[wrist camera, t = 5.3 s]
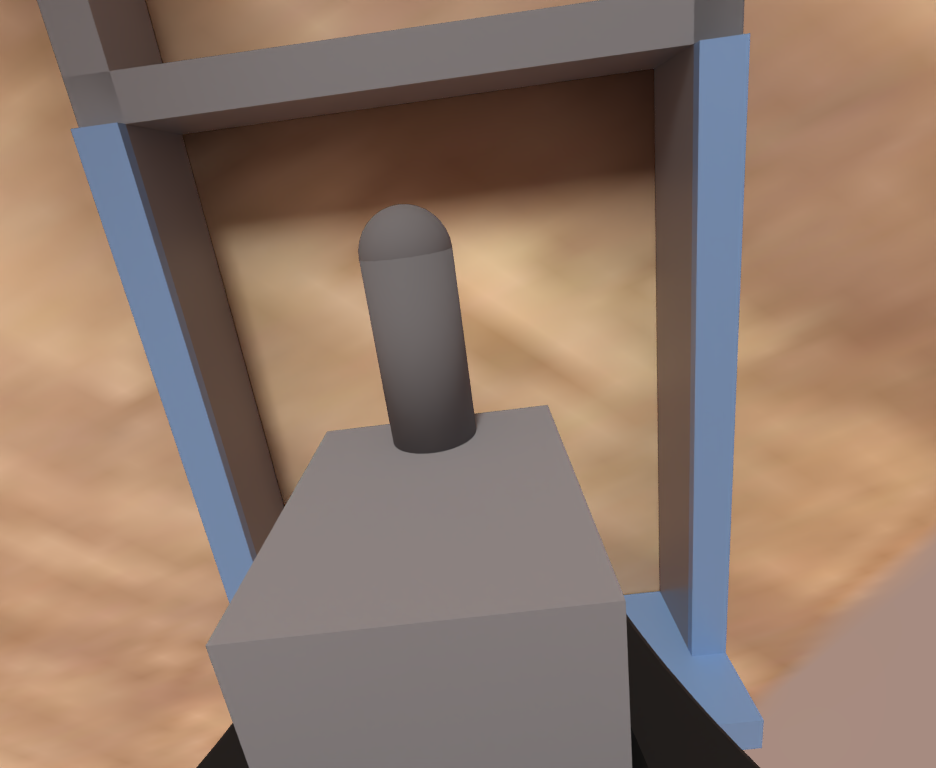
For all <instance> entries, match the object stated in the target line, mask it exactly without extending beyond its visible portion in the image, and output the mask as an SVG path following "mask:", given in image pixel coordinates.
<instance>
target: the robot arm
mask: <svg viewBox="0 0 936 768" xmlns="http://www.w3.org/2000/svg"><path fill="white" fill-rule="evenodd" d="M626 622H627V648H628V673H629V698H630V723H631V748H632V768H760V767H759V766H758V765H757V764H756V763H755V762H754V761H753V760H752V759H751V758H750V757H749V756H748V755H747V754H746V753H745V752H744V751H743V750H742V749H741V748H740V747H739V746H738V745H737V744H736V743H735V742H734V741H733V740H732V739H731V737H730V736H729V735H728V734H727V733H726V732H725V731H724V730H723V729H722V728H721V727H720V726H719V725H718V724H717V723H716V722H715V721H714V720H713V718H712V717H711V716H710V715H709V714H708V713H707V712H706V711H705V710H704V708H703V707H702V706H701V705H700V704H699V703H698V702H697V701H696V700H695V698H694V697H693V696H692V695H691V694H690V693H689V691H688V690H687V689H686V688H685V687H684V686H683V684H682V683H681V682H680V681H679V680H678V679H677V678H676V676H675V675H674V674H673V673H672V672H671V671H670V669H669V668H668V667H667V666H666V665H665V663H664V662H663V661H662V660H661V658H660V657H659V656H658V655H657V654H656V652H655V651H654V650H653V648H652V647H651V646H650V645H649V643H648V642H647V641H646V639H645V638H644V637H643V636H642V634H641V633H640V632H639V630H638V629H637V628H636V626H635V625H634V624H633V622H632V621H631V620H630V618H629V617H628V615H627V614H626ZM197 768H249V766H248V763H247V760H246V758H245V755H244V752H243V749H242V746H241V744H240V741H239V738H238V735H237V732H236V730H235V727H234V724H233V723H232V725H231V726H230V727H229V728H228V730H227V731H226V732H225V734H224V735H223V736H222V737H221V739H220V740H219V741H218V742H217V744H216V745H215V746H214V747H213V749H212V750H211V751H210V752H209V753H208V755H207V756H206V757H205V758H204V759H203V760H202V762H201V763H200V764H199V765H198V766H197Z"/></svg>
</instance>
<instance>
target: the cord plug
mask: <svg viewBox="0 0 936 768" xmlns="http://www.w3.org/2000/svg"><path fill="white" fill-rule="evenodd" d="M358 253H359V261H360V267H361V272H362V277H363V283H364V288H365V293H366V299H367V304H368V309H369V315H370V320H371V325H372V331H373V336H374V341H375V347H376V352H377V357H378V363H379V368H380V373H381V379H382V384H383V389H384V395H385V400H386V405H387V411H388V416H389V421H390V424H386V425H378V426H370V427H361V428H353V429H345V430H336V431H328V432H327V433H326V435H325V436H324V438H323V440H322V442H321V443H320V445H319V447H318V449H317V450H316V452H315V454H314V456H313V457H312V459H311V461H310V463H309V465H308V466H307V468H306V470H305V472H304V473H303V475H302V477H301V479H300V480H299V482H298V484H297V486H296V487H295V489H294V491H293V493H292V495H291V496H290V498H289V500H288V502H287V503H286V505H285V507H284V509H283V510H282V512H281V514H280V516H279V517H278V519H277V521H276V523H275V524H274V526H273V528H272V530H271V532H270V533H269V535H268V537H267V539H266V540H265V542H264V544H263V546H262V547H261V549H260V551H259V553H258V554H257V556H256V558H255V560H254V562H253V563H252V565H251V567H250V569H249V570H248V572H247V574H246V576H245V577H244V579H243V581H242V583H241V584H240V586H239V588H238V590H237V592H236V593H235V595H234V597H233V599H232V600H231V602H230V604H229V606H228V607H227V609H226V611H225V613H224V614H223V616H222V618H221V620H220V621H219V623H218V625H217V627H216V629H215V630H214V632H213V634H212V636H211V637H210V639H209V641H208V643H207V644H206V649H207V651H208V654H209V657H210V660H211V663H212V665H213V668H214V671H215V674H216V677H217V679H218V682H219V685H220V688H221V691H222V693H223V696H224V699H225V702H226V704H227V707H228V710H229V713H230V716H231V718H232V721H233V724H234V727H235V730H236V732H237V735H238V738H239V741H240V744H241V746H242V749H243V752H244V755H245V758H246V760H247V763H248V766H249V768H632V748H631V723H630V698H629V673H628V648H627V622H626V600H625V598H624V595H623V593H622V590H621V588H620V585H619V583H618V580H617V578H616V575H615V573H614V570H613V568H612V565H611V563H610V560H609V558H608V555H607V553H606V550H605V548H604V545H603V543H602V540H601V538H600V535H599V533H598V530H597V528H596V525H595V523H594V520H593V518H592V515H591V513H590V510H589V508H588V505H587V503H586V500H585V497H584V495H583V492H582V490H581V487H580V485H579V482H578V480H577V477H576V475H575V472H574V470H573V467H572V465H571V462H570V460H569V457H568V455H567V452H566V450H565V447H564V445H563V442H562V440H561V437H560V435H559V432H558V430H557V427H556V425H555V422H554V420H553V417H552V415H551V412H550V410H549V407H548V405H544V406H536V407H528V408H519V409H511V410H503V411H494V412H486V413H478V414H474V409H473V401H472V394H471V386H470V379H469V371H468V363H467V356H466V348H465V341H464V333H463V326H462V318H461V310H460V303H459V295H458V288H457V280H456V273H455V265H454V257H453V250H452V244H451V240H450V237H449V235H448V232H447V230H446V228H445V227H444V225H443V224H442V223H441V221H440V220H439V219H438V218H437V217H436V216H435V215H434V214H432V213H431V212H429V211H427V210H426V209H424V208H421V207H418V206H415V205H409V204H398V205H394V206H390V207H387V208H385V209H383V210H381V211H379V212H378V213H377V214H376V215H374V216H373V217H372V218H371V219H370V221H369V222H368V223H367V224H366V226H365V228H364V230H363V231H362V234H361V237H360V241H359V249H358Z"/></svg>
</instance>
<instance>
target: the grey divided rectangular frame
mask: <svg viewBox="0 0 936 768" xmlns="http://www.w3.org/2000/svg"><path fill="white" fill-rule="evenodd" d="M37 2H38V5H39V8H40V11H41V14H42V17H43V20H44V23H45V26H46V29H47V33H48V36H49V39H50V42H51V45H52V48H53V51H54V54H55V57H56V60H57V63H58V66H59V69H60V72H61V75H62V78H63V81H64V84H65V87H66V90H67V93H68V96H69V99H70V102H71V105H72V108H73V111H74V114H75V117H76V120H77V123H78V126H79V128H74V129H71V132H72V135H73V138H74V141H75V144H76V147H77V150H78V153H79V156H80V159H81V162H82V165H83V168H84V171H85V174H86V177H87V180H88V183H89V186H90V189H91V192H92V195H93V198H94V201H95V204H96V207H97V210H98V213H99V216H100V219H101V222H102V225H103V228H104V230H105V233H106V236H107V239H108V242H109V245H110V248H111V251H112V254H113V257H114V260H115V263H116V266H117V269H118V272H119V275H120V278H121V281H122V284H123V287H124V290H125V293H126V296H127V299H128V302H129V305H130V308H131V311H132V314H133V317H134V320H135V323H136V326H137V329H138V332H139V335H140V338H141V341H142V344H143V347H144V350H145V353H146V356H147V359H148V362H149V365H150V368H151V371H152V374H153V376H154V379H155V382H156V385H157V388H158V391H159V394H160V397H161V400H162V403H163V406H164V409H165V412H166V415H167V418H168V421H169V424H170V427H171V430H172V433H173V436H174V439H175V442H176V445H177V448H178V451H179V454H180V457H181V460H182V463H183V466H184V469H185V472H186V475H187V478H188V481H189V484H190V487H191V490H192V493H193V496H194V499H195V502H196V505H197V508H198V511H199V514H200V517H201V520H202V523H203V525H204V528H205V531H206V534H207V537H208V540H209V543H210V546H211V549H212V552H213V555H214V558H215V561H216V564H217V567H218V570H219V573H220V576H221V579H222V582H223V585H224V588H225V591H226V594H227V597H228V600H229V603H230V602H231V600H232V599H233V597H234V595H235V593H236V592H237V590H238V588H239V586H240V584H241V583H242V581H243V579H244V577H245V576H246V574H247V572H248V570H249V569H250V567H251V565H252V563H253V562H254V560H255V558H256V556H257V554H258V553H259V551H260V549H261V547H262V546H263V544H264V542H265V540H266V539H267V537H268V535H269V533H270V532H271V530H272V528H273V526H274V524H275V523H276V521H277V519H278V517H279V516H280V514H281V512H282V510H283V509H284V505H283V501H282V497H281V494H280V490H279V487H278V483H277V479H276V476H275V472H274V468H273V465H272V461H271V457H270V454H269V450H268V446H267V443H266V439H265V436H264V432H263V428H262V425H261V421H260V417H259V414H258V410H257V406H256V403H255V399H254V395H253V392H252V388H251V385H250V381H249V377H248V374H247V370H246V366H245V363H244V359H243V355H242V352H241V348H240V345H239V341H238V337H237V334H236V330H235V326H234V323H233V319H232V315H231V312H230V308H229V304H228V301H227V297H226V294H225V290H224V286H223V283H222V279H221V275H220V272H219V268H218V264H217V261H216V257H215V253H214V250H213V246H212V243H211V239H210V235H209V232H208V228H207V224H206V221H205V217H204V213H203V210H202V206H201V202H200V199H199V195H198V192H197V188H196V184H195V181H194V177H193V173H192V170H191V166H190V162H189V159H188V155H187V151H186V148H185V144H184V141H183V137H182V134H190V133H197V132H204V131H211V130H218V129H225V128H233V127H240V126H247V125H254V124H261V123H268V122H276V121H283V120H290V119H297V118H304V117H311V116H319V115H326V114H333V113H340V112H347V111H354V110H362V109H369V108H376V107H383V106H390V105H398V104H405V103H412V102H419V101H426V100H433V99H441V98H448V97H455V96H462V95H469V94H476V93H484V92H491V91H498V90H505V89H512V88H519V87H527V86H534V85H541V84H548V83H555V82H562V81H570V80H577V79H584V78H591V77H598V76H605V75H613V74H620V73H627V72H634V71H641V70H649V69H654V108H655V198H656V287H657V377H658V466H659V556H660V591H658V592H649V593H640V594H630V595H624V598H625V600H626V614H627V615H628V617H629V618H630V620H631V621H632V622H633V624H634V625H635V626H636V628H637V629H638V630H639V632H640V633H641V634H642V636H643V637H644V638H645V639H646V641H647V642H648V643H649V645H650V646H651V647H652V648H653V650H654V651H655V652H656V654H657V655H658V656H659V657H660V658H661V660H662V661H663V662H664V663H665V665H666V666H667V667H668V668H669V669H670V671H671V672H672V673H673V674H674V675H675V676H676V678H677V679H678V680H679V681H680V682H681V683H682V684H683V686H684V687H685V688H686V689H687V690H688V691H689V693H690V694H691V695H692V696H693V697H694V698H695V700H696V701H697V702H698V703H699V704H700V705H701V706H702V707H703V708H704V710H705V711H706V712H707V713H708V714H709V715H710V716H711V717H712V718H713V720H714V721H715V722H716V723H717V724H718V725H719V726H720V727H721V728H722V729H723V730H724V731H725V732H726V733H727V734H728V735H729V736H730V737H731V739H732V740H733V741H734V742H735V743H736V744H737V745H738V746H739V747H740V748H741V749H742V750H746V749H756V748H762V737H763V724H764V720H763V718H762V716H761V715H760V713H759V711H758V709H757V708H756V706H755V704H754V702H753V700H752V699H751V697H750V695H749V693H748V692H747V690H746V688H745V686H744V685H743V683H742V681H741V679H740V677H739V676H738V674H737V672H736V670H735V669H734V667H733V665H732V663H731V661H730V660H729V658H728V656H727V654H726V630H727V605H728V580H729V555H730V529H731V504H732V479H733V454H734V429H735V404H736V378H737V353H738V328H739V303H740V278H741V253H742V227H743V202H744V177H745V152H746V127H747V101H748V76H749V51H750V33H749V34H743V24H744V0H599V1H592V2H586V3H579V4H572V5H565V6H558V7H551V8H544V9H537V10H530V11H523V12H516V13H509V14H502V15H495V16H488V17H481V18H474V19H467V20H461V21H454V22H447V23H440V24H433V25H426V26H419V27H412V28H405V29H398V30H391V31H384V32H377V33H370V34H363V35H356V36H349V37H343V38H336V39H329V40H322V41H315V42H308V43H301V44H294V45H287V46H280V47H273V48H266V49H259V50H252V51H245V52H238V53H231V54H224V55H218V56H211V57H204V58H197V59H190V60H183V61H176V62H169V63H162V60H161V57H160V53H159V50H158V46H157V42H156V39H155V35H154V31H153V28H152V24H151V20H150V17H149V13H148V9H147V6H146V2H145V0H37Z"/></svg>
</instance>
